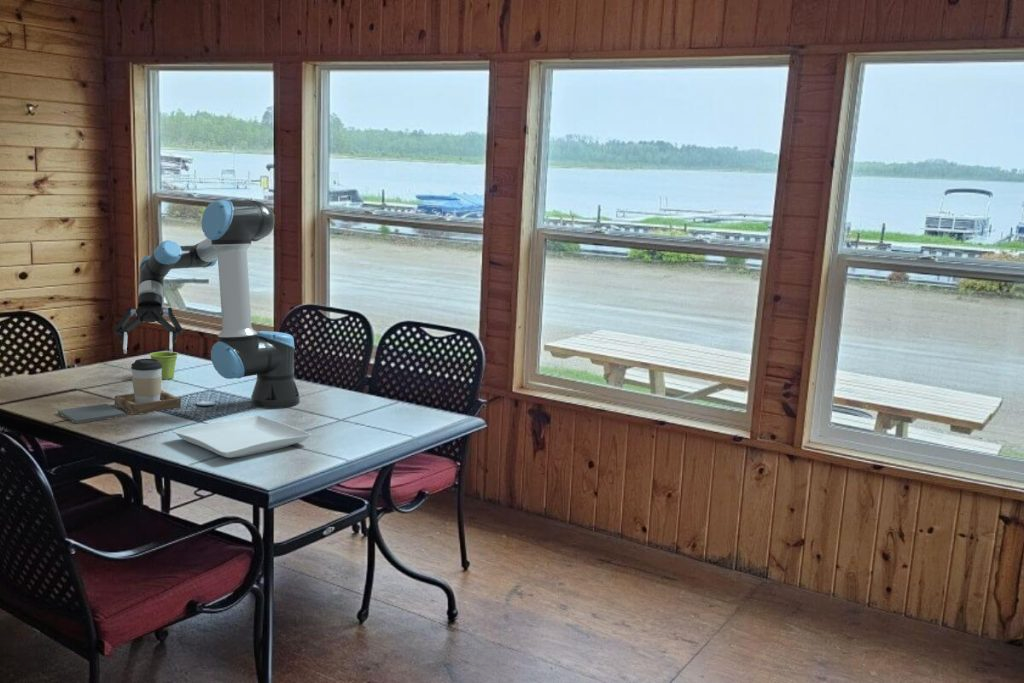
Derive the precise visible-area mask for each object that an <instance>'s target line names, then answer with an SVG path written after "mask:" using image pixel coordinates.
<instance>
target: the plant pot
mask: <svg viewBox="0 0 1024 683" xmlns="http://www.w3.org/2000/svg"><path fill="white" fill-rule="evenodd" d="M149 356H150V359H156V360H158V361H159V363H161V364H162V371H161V374H162V379H164V380H165V379H167V380H169V379H171V378H172V379H174V378H175V377H174V376H175V370H176V363H177V358H178V356H179V353H178V352H176V351H175V352H174V351H172V353H170V351H156V352H151V353H149Z"/></svg>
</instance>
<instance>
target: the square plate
mask: <svg viewBox="0 0 1024 683" xmlns="http://www.w3.org/2000/svg"><path fill="white" fill-rule="evenodd" d="M172 433H173V434H175V435H176V436H178V438H180V439H182V440H183V441H186V442H188V443H190V444H192V445H195V446H198V447H201V448H203V449H206V450H208V451H211V452H213V453H215V454H217V455H219V456H221V457H224V458H227V459H228V458H229V459H232V458H242V457H247V456H252V455H256V454H260V453H265V452H268V451H269V452H270V451H273V450H277V449H282V448H286V447H289V446H291V445H296V444H300V443H302V442H304V441H306V440H308V439H309V438H310V437H311V436H312V433H311V432H307V431H305V430H303V429H300V428H298V427H294V426H292V425H288V424H286V423H284V422H280V421H277V420H275V419H274V420H273V419H272V418H267V417H264V416H261V415H252V416H245V417H239V418H232V419H227V420H219V421H215V422H208V423H203V424H198V425H195V426H194V425H193V426H189V427H185V428H180V429H175V430H173V431H172Z"/></svg>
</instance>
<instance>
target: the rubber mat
mask: <svg viewBox="0 0 1024 683" xmlns="http://www.w3.org/2000/svg"><path fill="white" fill-rule="evenodd" d="M58 413H59V414H58ZM57 414H58V415H60V414H61V415H63V416H64V417H63V416H62V417H63V418H65V417H66V418H65V419H67V418H68V419H69V420H68V419H67V420H68V421H70V420H71V422H72V421H73V422H72V423H73V424H75V423H79V424H83V422H86V423H89V422H88V421H92V422H97V421H96V420H99V421H103V420H102V419H105V420H109V419H108V418H112V419H115V417H118V418H122V417H121V416H125V417H126V413H125V412H123V411H121V410H119V409H117V408H115V407H114V406H112V405H109V404H108V403H100V404H93V405H86V406H79V407H73V408H65V409H58V410H57ZM61 415H60V416H61Z"/></svg>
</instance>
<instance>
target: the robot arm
mask: <svg viewBox="0 0 1024 683" xmlns="http://www.w3.org/2000/svg"><path fill="white" fill-rule="evenodd" d="M271 209H272V208H270V207H269V205H267V204H265V203H264V202H261V201H259V200H253V199H252V200H242V199H241V200H240V199H239V200H235V199H221V200H219V199H218V200H214V201H212V202H210V203H208V205H207V206H206V208H205V209H204V210H203V212H202V215H201V229H202V232H203V233H204V236H205V238H204V239H203V240H202V241H199V242H197V244H194V245H179V244H178V243H177V242H175V241H172V240H170V239H168V240H166V239H165V240H164V241H162V242H160V244H159V245H157V247H155V249H154V250H153V252H152V254H151V255H147V256H145V257H142V258H141V260H140V265H139V268H138V270H139V280H138V294H137V295H138V296H137V297H138V298H137V307H136V309H133V308H131V307H126V312H125V314H124V315H123V316H122V317H121V319H120V321H119V322H118V323H117V324H116V326H115V327H114V333H115V335H116V336H117V335H119V343H120V344H121V345H122V350H123V354H125V355H126V354H127V351H128V350H127V348H128V333H130V332H131V331H132V330H134V329H135V328H136V327H137V326H138V325H141V323H142V322H144V323H155V322H157V323H158V324H159V325H161V326H162V327H163V328H164V329H165V330H166V331H167V332H169V347H168V348H169V352H170V353H172V352H173V344H177V336H178V335H182V334H183V327H182V326H181V325H180V322H179V321H178V319H177V318H176V316H175V314H174V313H173V308H172V307H168V308H167V309H163V301H164V300H163V297H164V294H163V293H164V279H165V277H166V276H167V275H168V273H169V272H170V271H171V270H176V269H177V270H178V269H179V270H180V269H194V268H196V269H198V268H204V269H205V268H209V267H213V266H215V265H216V264H218V265H217V268H218V278H219V280H218V281H219V282H218V283H219V294H220V296H219V297H220V309H221V310H220V311H221V321H222V322H221V324H222V325H221V326H222V330H221V331H220V332H219V333H218V335H217V342H216V343H214V344H213V345H212V348H210V349H211V350H210V359H211V363H212V365H213V368H214V370H215V371H216V372H217V373H218V375H219V376H221V377H222V378H224V379H226V380H231V379H242V378H245V377H252V376H256V381H255V384H254V387H253V389H252V392H251V393H252V394H251V397H250V398H251V399H250V402H251V405H253V406H254V407H257V408H258V407H259V408H265V409H282V408H283V409H285V408H290V407H295V406H297V405H299V404H300V398H301V397H300V393H299V390H298V387H297V384H296V380H295V349H296V347H295V341H294V340H295V339H294V336H293V335H291V334H289V333H286V332H280V331H271V330H259V331H256V330H254V328H253V327H252V314H251V313H252V312H251V311H252V310H251V309H252V308H251V300H250V299H251V298H250V283H249V282H250V281H249V280H250V279H249V267H248V249H249V248H250V247H251V246H252V242H258V241H260V240H262V239H264V238H266V237H267V236H269V235H270V234H271V233H272V231H273V229H274V228H275V225H276V224H275V222H276V221H275V220H276V219H275V215H274V213H273V211H272V210H271ZM135 314H136V315H135ZM134 315H135V317H134V318H133V319H132V320H131V317H133V316H134ZM164 315H165V316H167V317H168V318H169V321H170V322H171V323H170V322H168V320H166V319H165V318H164V317H163V316H164ZM130 320H131V321H130Z"/></svg>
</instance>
